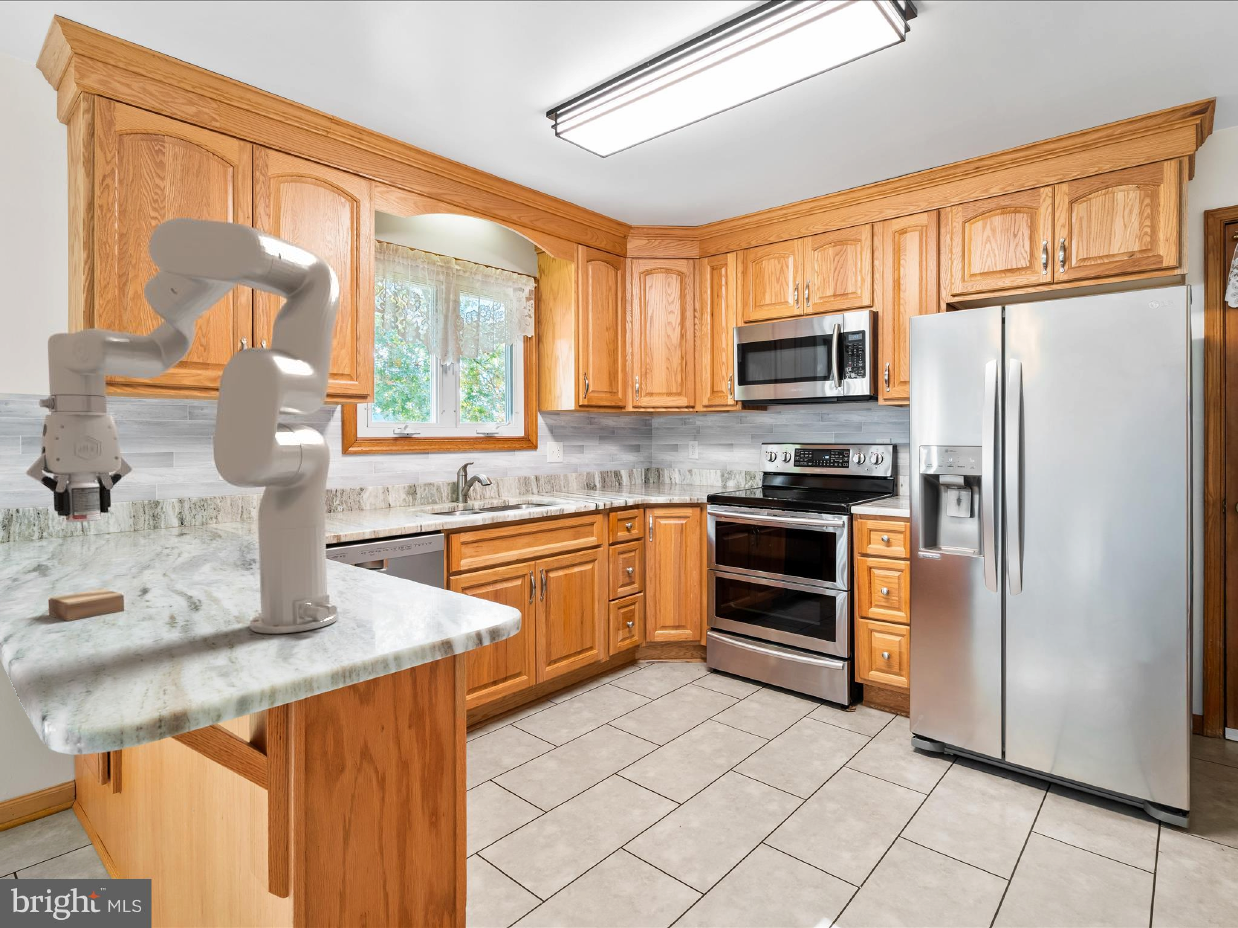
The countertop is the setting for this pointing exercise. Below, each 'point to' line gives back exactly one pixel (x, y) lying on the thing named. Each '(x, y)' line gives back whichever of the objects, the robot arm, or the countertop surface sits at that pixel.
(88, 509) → the pill bottle
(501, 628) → the countertop surface
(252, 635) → the countertop surface
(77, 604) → the walnut stand
